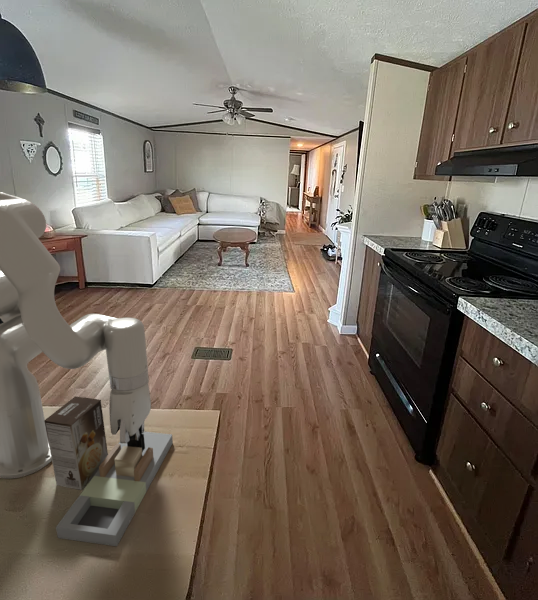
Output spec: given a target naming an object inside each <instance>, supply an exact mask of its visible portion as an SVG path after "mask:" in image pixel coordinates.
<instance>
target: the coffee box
mask: <svg viewBox="0 0 538 600" xmlns="http://www.w3.org/2000/svg"><path fill="white" fill-rule="evenodd" d="M44 422H45V426H46V432H47V437H48V442H49V448H50V453H51V458H52V461H51V462H52V467H53V468H52V469H53V473H54V478H55V482H56V485H57V486H61V487H64V488H70V489H74V490H80V491H83V490H84V489H85V488H86V486H87V485H88V484H89V482H90V481H91V479H92V478H93V477H94V475H95V474H96V473H97V471H98V470H99V466H100V465H101V463H102V462H103V461H104V459H105V458H106V457H107V455H108V454H109V452H108V445H107V444H108V443H107V437H106V429H105V423H104V415H103V407H102V400H101V399H97V398H92V397H82V396H73V398H71V399H70V400H68V401H67V402H66V403H64V405H62V406H61V407H59V409H57V410H56V411H54V412H52V414H50V415H49V416H48V417H47V418H45V420H44Z"/></svg>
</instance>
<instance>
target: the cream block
mask: <svg viewBox="0 0 538 600" xmlns="http://www.w3.org/2000/svg"><path fill="white" fill-rule="evenodd" d="M141 458H142V448H139V447H129V446H123V447H122V449H121V450H120V452H119V453H118V455H117V456H116V458H115V459H114V460H115V469H116V475H121V476H130V477H134V470H135V468H136V466H137V465H138V463H139V462H140V460H141Z"/></svg>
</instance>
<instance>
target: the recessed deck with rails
mask: <svg viewBox="0 0 538 600" xmlns="http://www.w3.org/2000/svg"><path fill="white" fill-rule="evenodd" d="M142 434H144V442H145V449H144V450H143V452H142V458H141V460H140V462H139V463H138V465H137V466H136V468H135V470H134V477H130V476H121V475H116V469H115V460H114V459H115V458H116V456H117V455H118V453H119V452H120V450H121V449H122V447H123V446H127V443H126V444H124V443H120V441H119V442H118V443H115V444H114V446H113V447H112V448H111V450H110V451H109V452H108V455H107V457H106V458H105V459H104V461H103V462H102V463H101V465H100V466H99V470H98V471H97V473H96V474H95V475H94V477H93V478H92V479H91V481H90V482H89V483H88V484H87V485H86V487H85V488H84V489H83V490H82V492H81V493H80V494H79V495H78V497H77V498H76V499H75V500H74V502H73V503H72V505H71V506H70V507H69V509H68V510H67V511H66V513H65V515H64V516H63V517H62V518H61V520H60V521H59V522H58V524H57V525H56V526H55V531H56V534H57V538H58V539H62V540H68V541H69V540H70V541H78V542H84V543H89V544H90V543H92V544H99V545H106V546H113V547H118V546H119V543H120V541H121V540H122V538H123V536H124V534H125V532H126V530H127V529H128V527H129V525H130V523H131V521H132V519H133V517H134V516H135V514H136V512H137V510H138V508H139V507H140V504H141V503H142V501H143V499H144V497H145V495H146V494H147V492H148V490H149V488H150V486H151V484H152V482H153V480H154V479H155V477H156V475H157V473H158V472H159V469H160V468H161V466H162V464H163V462H164V460H165V458H166V456H167V455H168V453H169V451H170V449H171V447H172V445H173V444H174V443H173V434H171V433H170V434H169V433H161V432H151V431H144V433H142Z"/></svg>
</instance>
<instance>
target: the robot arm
mask: <svg viewBox="0 0 538 600" xmlns="http://www.w3.org/2000/svg"><path fill="white" fill-rule="evenodd" d="M45 217H46V216H45V215H44V214H43V211H42V210H41V209H40V208H39V207H38V206H37V205H36V204H34V203H33V202H31V201H30V200H27V199H24V198H22V197H19V196H16V195H11V194H9V193H5V192H1V191H0V320H1V321H2V323H0V479H17V478H23V477H25V476H28V475H32V474H34V473H36V472H38V471H40V470H42V469H43V468H45V467H46V466H47V465H49V464H50V463H51V462H52V458H51V453H50V448H49V442H48V437H47V432H46V426H45V422H44V420H46V418H45V414H44V413H45V412H44V408H43V402H42V397H41V392H40V387H39V382H38V379H37V377H36V376H35V375H34V374H33V373H32V372H31V371H30V370H29V367H28V365H29V362H31V361H32V360H33V359H34V358H36V357H38V356H39V355H41V354H42V353H43V354H44V355H45V357H47V358H48V359H49V360H50V361H51V362H52V363H54V364H56V366H58V367H61V368H63V369H67V370H75V369H79V368H81V367H84V366H85V365H86V364H88V363H89V362H90V361H91V360H93V358H94V357H96V356H97V355H98V354H99V353H100V352H103V351H104V350H105V353H106V354H105V355H106V363H107V369H108V370H107V371H108V379H109V380H108V381H109V385H110V392H109V402H108V403H109V407H108V409H109V424H110V425H109V427H110V433H111V435H112V436H113V435H114V436H115V435H117V434H118V432H119V442H120V443H124V444H126V443H127V446H129V447H139V448H142V452H143V450H144V449H145V442H144V434H142V433H144V432H145V421H146V419H147V418H148V416H149V414H150V412H151V409H152V404H151V403H152V402H151V393H150V392H151V391H150V385H149V384H150V383H149V382H150V381H149V369H148V356H147V354H148V353H147V345H146V344H147V342H146V333H145V332H146V331H145V325H144V323H143V322H142V321H141V319H139V318H135V317H119V318H118V317H113V316H109V315H105V314H101V313H88V314H87V313H86V315H83V316H81V317H80V318H78V319H77V320H75V321H74V322H72V323H71V324H69V323H68V322H67V321H66V319H65V318H64V317H63V315H62V314H61V312H60V310H59V309H58V306H57V304H56V299H55V287H56V284H57V280H58V278H59V276H60V275H59V274H60V273H61V265H60V264H59V262H58V261H57V260H56V259H55V257H54V256H53V255H52V254H51V252H50V251H49V249H47V247H46V246H45V245H44V244H43V243H42V241H41V240H40V239H39V238H41V237H42V236H43V235H44V234H45V231H46V230H47V229H46V228H47V219H46V218H45Z"/></svg>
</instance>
